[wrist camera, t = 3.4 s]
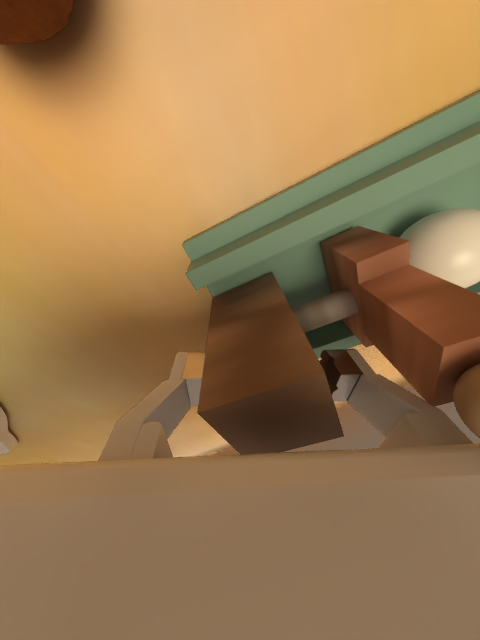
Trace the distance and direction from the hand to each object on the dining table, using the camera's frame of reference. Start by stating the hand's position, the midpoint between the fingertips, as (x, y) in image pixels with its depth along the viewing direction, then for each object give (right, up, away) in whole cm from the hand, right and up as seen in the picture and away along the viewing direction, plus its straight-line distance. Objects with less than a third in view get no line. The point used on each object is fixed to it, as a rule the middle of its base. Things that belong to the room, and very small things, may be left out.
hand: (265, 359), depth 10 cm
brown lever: (+2, +4, +3) cm, 5 cm away
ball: (+9, +5, 0) cm, 10 cm away
